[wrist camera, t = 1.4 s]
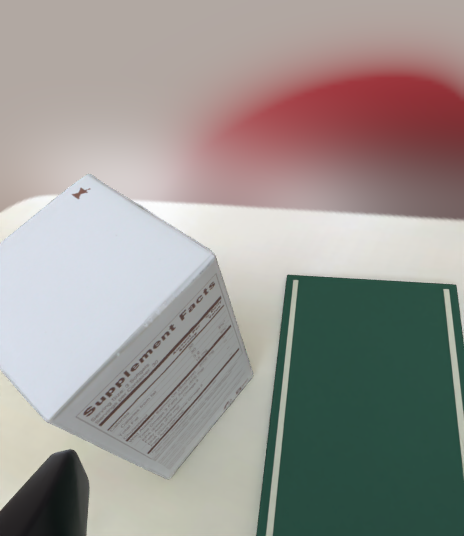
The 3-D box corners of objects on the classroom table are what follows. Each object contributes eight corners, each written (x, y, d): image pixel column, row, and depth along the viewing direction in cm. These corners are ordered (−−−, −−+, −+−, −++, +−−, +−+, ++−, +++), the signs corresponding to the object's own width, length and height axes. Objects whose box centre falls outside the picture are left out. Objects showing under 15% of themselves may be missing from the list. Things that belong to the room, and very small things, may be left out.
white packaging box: (85, 397, 25) (-72, 290, 15) (172, 308, 28) (89, 164, 17) (168, 487, 22) (39, 429, 12) (259, 377, 24) (220, 247, 14)
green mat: (515, 774, 15) (520, 779, 15) (238, 695, 17) (237, 698, 17) (454, 287, 26) (456, 284, 25) (287, 277, 28) (287, 274, 27)
